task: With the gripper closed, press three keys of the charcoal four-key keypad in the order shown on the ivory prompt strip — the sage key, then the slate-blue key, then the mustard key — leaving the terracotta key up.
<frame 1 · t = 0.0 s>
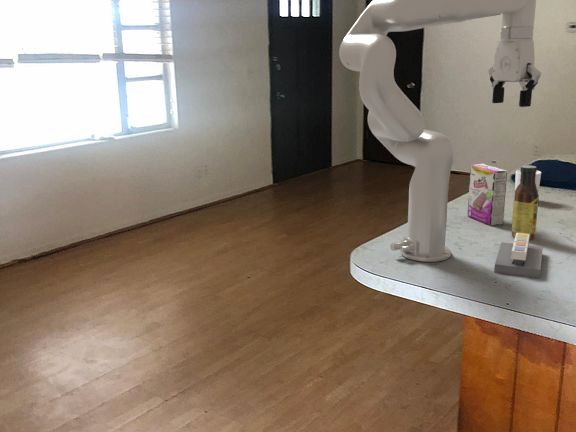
hand: (510, 104, 156), 37 cm above the countertop, tool pointing down, fingers open, 9 cm apart
white cup: (525, 201, 206), on the countertop
key mustard: (521, 241, 155), point 4 cm above the countertop, slide at 0.0 cm
key sage: (520, 246, 152), point 4 cm above the countertop, slide at 0.0 cm
keypad board: (519, 262, 151), on the countertop
key blue: (518, 256, 145), point 4 cm above the countertop, slide at 0.0 cm
prompt strip: (522, 247, 162), on the countertop
key terracotta: (519, 251, 148), point 4 cm above the countertop, slide at 0.0 cm
candy bar box: (484, 221, 185), on the countertop
sauce bottle: (522, 237, 170), on the countertop
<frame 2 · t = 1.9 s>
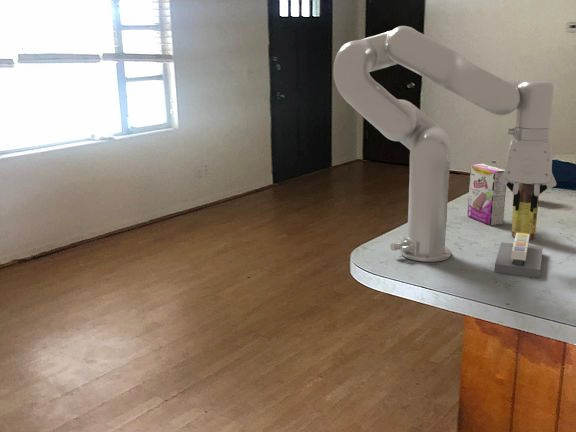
hand: (524, 209, 149), 13 cm above the countertop, tool pointing down, fingers closed
nothing on the countertop moved.
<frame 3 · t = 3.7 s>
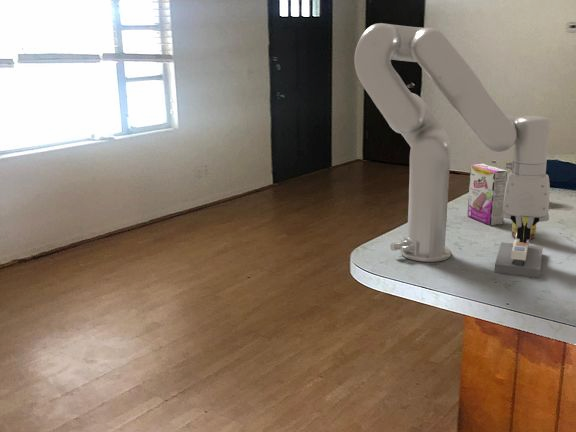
hand: (523, 241, 151), 5 cm above the countertop, tool pointing down, fingers closed
key sage: (520, 249, 152), point 3 cm above the countertop, slide at 0.8 cm
everything else where it was.
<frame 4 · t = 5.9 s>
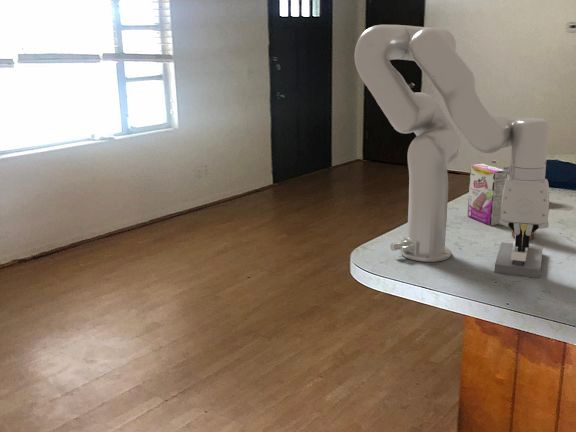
hand: (521, 249, 144), 5 cm above the countertop, tool pointing down, fingers closed
key blue: (518, 257, 145), point 3 cm above the countertop, slide at 0.2 cm, touching gripper
everything else where it was.
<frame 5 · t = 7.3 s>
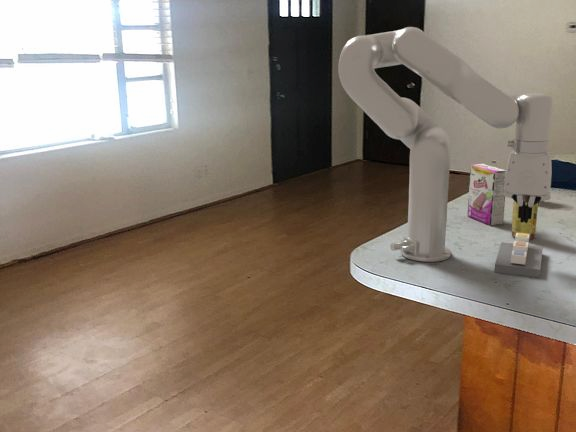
hand: (524, 221, 150), 10 cm above the countertop, tool pointing down, fingers closed
key blue: (518, 260, 145), point 3 cm above the countertop, slide at 1.0 cm
everything else where it was.
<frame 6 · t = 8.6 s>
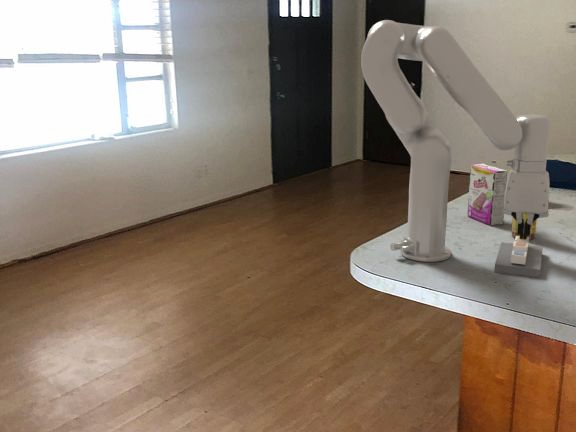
hand: (523, 237, 155), 5 cm above the countertop, tool pointing down, fingers closed
key mustard: (521, 244, 155), point 3 cm above the countertop, slide at 0.9 cm
everything else where it was.
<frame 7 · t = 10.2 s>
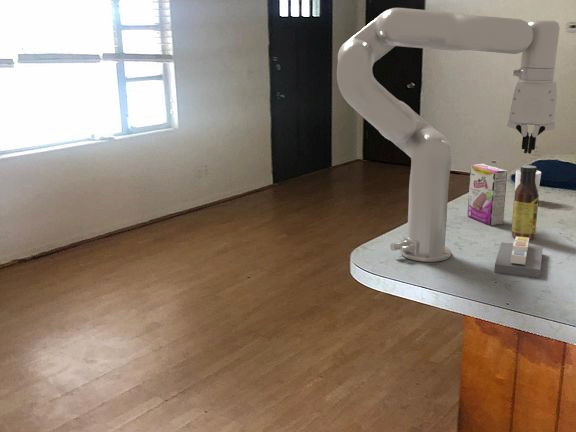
hand: (527, 152, 150), 26 cm above the countertop, tool pointing down, fingers closed
nothing on the countertop moved.
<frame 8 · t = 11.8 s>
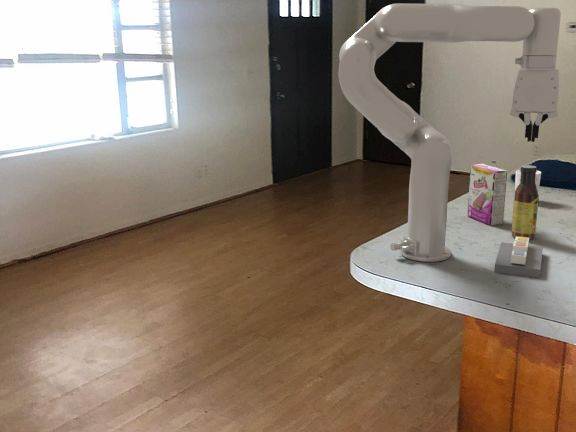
hand: (531, 140, 149), 29 cm above the countertop, tool pointing down, fingers closed
nothing on the countertop moved.
at the end: key sage slide at 1.0 cm; key blue slide at 1.0 cm; key mustard slide at 1.0 cm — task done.
